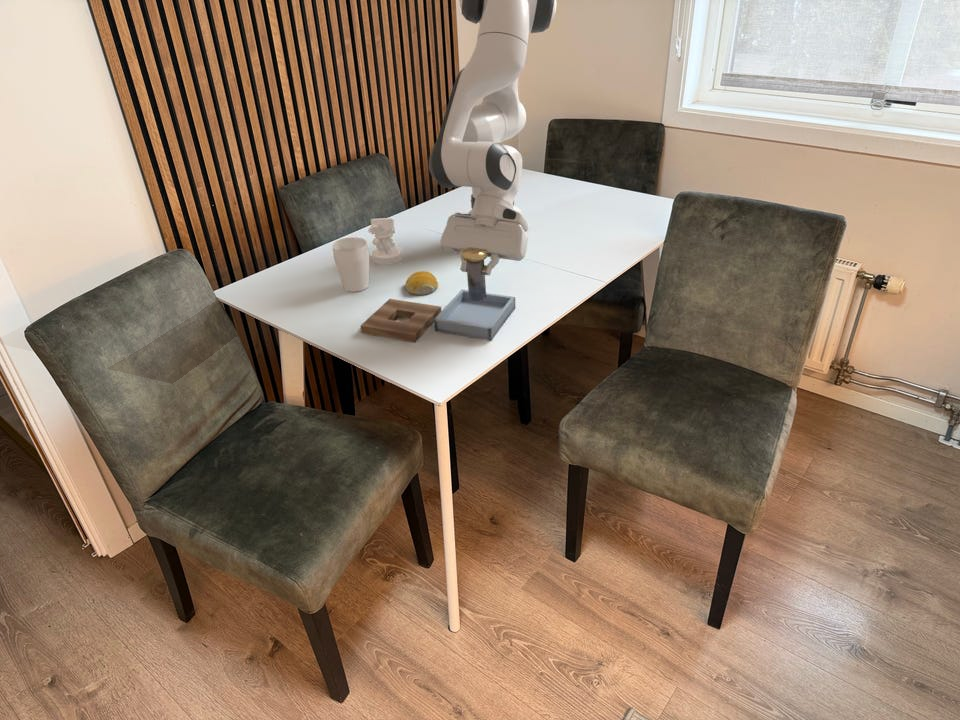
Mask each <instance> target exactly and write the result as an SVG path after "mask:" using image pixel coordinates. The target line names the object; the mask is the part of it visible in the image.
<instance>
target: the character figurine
mask: <svg viewBox="0 0 960 720" xmlns="http://www.w3.org/2000/svg"><path fill="white" fill-rule="evenodd" d="M367 231H368V233H370V234H371V235H374V237H375V238H372V244H373V246H376V248H375V249H374V250H372V251H371V260H372V262H373V263H375V264H377V265H385V266H386V265H387V266H388V265H393V264H396V263H397V264H398V263H399V262H401V261H403V259H404V253H403V249H402V248H401V247H399V246H395V245H396V243H395V242H394V240H393V238H392V237H393V236H394V234H395V233H396V229H395V220H394V219H393V218H391V217H384V218H381V217H380V218H371V219H370V227H369V228H368V230H367Z"/></svg>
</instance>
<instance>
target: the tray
mask: <svg viewBox="0 0 960 720" xmlns="http://www.w3.org/2000/svg"><path fill="white" fill-rule="evenodd" d="M515 309H516V296H510V295H504V294H496V293H489V292H486V298H485V299H483V300H480V301H474V300H471V299H469V292H468V289H461V290H460V291H458V293H457V294H456V295H455V296H454V297H453V298H452V299H451V300H450V301H449V302H448V303H447V304H446V306H444V308H443V309H441V312H440V314H439V315H438V316H437V317H436V318H435V319H434V323H433V324H434V325H433V326H434V332H436V333H437V332H439V333H444V334H450V335H455V336H456V335H457V336H462V337H468V338H474V339H479V340H486V341H492V340H493V339H494V338H495V336H496V335H497V334H498V333H499V331H500V330H501V328H503V326H504V325H505V323H506V321H507V320H508V319H509V317H510V316H511V315H512V313H514V311H515Z"/></svg>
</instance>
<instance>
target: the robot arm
mask: <svg viewBox="0 0 960 720" xmlns="http://www.w3.org/2000/svg"><path fill="white" fill-rule="evenodd" d="M557 5H558V3H557V0H459V6H460V11H461V15H462V16H463V18H465V20H467V21H468V22H470V23H472V24H475V25H477V24H479V26H478V31H477V38H476V43H475V47H474V50H473V52H472V55H471V56H470V59H469V61H468V62H467V64H466V65H465V66H464V67H463V68H462V69H460V71H459V72H458V74H457V75H456V78H455V81H454V83H453V86H452V90H451V93H450V96H449V100H448V103H447V106H446V109H445V113H444V117H443V120H442V124H441V126H440V129H439V133H438V136H437V139H436V142H435V143H434V145H433V147H432V150H431V152H430V154H429V157H428V170H429V173H430V175H431V177H432V178H433V179H434V181H435V182H436V183H437V184H438V185H439V186H441V187H442V188H445V189H446V188H447V189H448V188H459V187H464V188H466V187H468V188H471V192H472V193H471V195H470V208H471V209H470V210H469V211H468V212H467V213H461V212H455V213H453V214H451V215H450V216H449V217H448V218H447V220H446V225H445V227H444V230H443V232H442V235H441V238H440V240H439V241H440V242H439V243H440V246H441V247H442V248H443V249H444V250H445V251H446V252H450V253H451V252H452V253H457V254H459V257H460V262H461V265H460V271H461V272H463V273H467V265H466V261H465V260H464V259H463V258H462V251H463V250H464V249H466V248H469V247H471V248H479V249H486V250H487V258H490V261H489V262H488V263H487V265H486V264H484V266H483V270H482V273H483V274H484V275H485V276H491V274H492V270H493V269H494V268H495V267H496V266H497V265H498V264H499V262H500V259H502V260H511V261H515V262H521V261H522V260H523V259H524V258H525V257H526V253H527V249H528V239H529V232H528V231H530V228H531V226H530V223H528V221H527V219H526V218H525V217H524V215H523V211H522V210H521V209H520V208H519V207H518V206H516V205H515V197H516V195H517V194H518V191H519V187H520V182H521V178H522V173H523V172H522V171H523V157H522V154H521V152H519V151H518V150H517V149H516V148H515V147H513V146H511V145H506V144H502V143H503V142H506V141H508V140H511V139H512V138H513V137H515V136H516V135H518V134H519V133H520V132H521V131H522V130H523V129H524V127H525V126H526V123H527V112H526V109H525V107H524V105H523V103H522V102H520V99H519V89H518V87H519V86H518V85H519V84H518V83H519V77H520V76H521V74H522V72H523V70H524V67H525V64H526V59H527V54H528V53H527V51H528V44H529V36H530V34H536V33H537V34H539V33H543V32H545V31H546V30H547V29H549V28H550V26H551V23H553V21H554V18H555V15H556V12H557V9H558V8H557ZM481 100H482V101H481ZM480 101H481V103H479V102H480ZM477 103H479V104H477ZM476 104H477V105H476ZM527 234H528V235H527Z"/></svg>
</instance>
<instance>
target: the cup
mask: <svg viewBox="0 0 960 720" xmlns="http://www.w3.org/2000/svg"><path fill="white" fill-rule="evenodd" d="M331 247H332V255H333V260H334V263H335V265H336V269H337V272H338V275H339V277H340V280H341V281H340V282H341V284H342V286H343V290H345V291H347V292H351V293H353V292H354V293H356V292H362V291H364V290H366V289H367V288H368V287H370V251H369V248H368V247H369V246H368V241H367V240H366V239H365V238H363V237H355V236H353V237H345V238H340V239H338V240H336V241H335V242H333V244H332V246H331Z"/></svg>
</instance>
